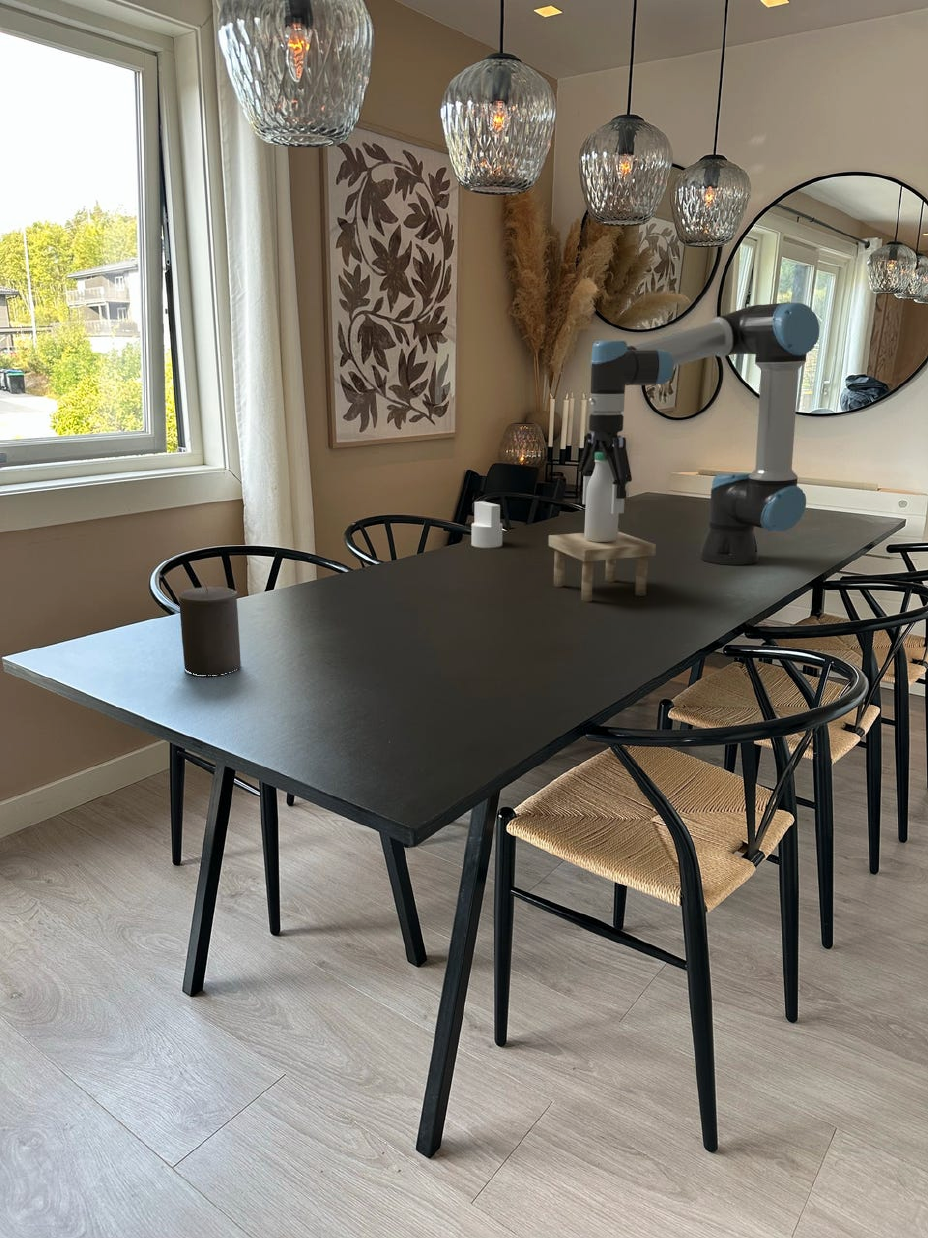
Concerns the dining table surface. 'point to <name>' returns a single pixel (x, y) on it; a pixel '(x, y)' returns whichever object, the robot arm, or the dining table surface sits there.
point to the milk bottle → (600, 504)
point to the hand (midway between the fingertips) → (602, 508)
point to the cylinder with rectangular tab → (486, 526)
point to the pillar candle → (210, 630)
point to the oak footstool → (600, 558)
